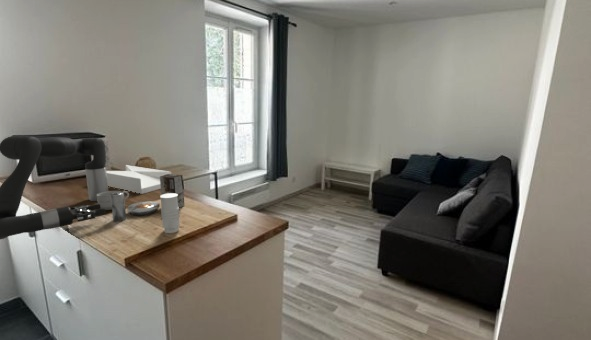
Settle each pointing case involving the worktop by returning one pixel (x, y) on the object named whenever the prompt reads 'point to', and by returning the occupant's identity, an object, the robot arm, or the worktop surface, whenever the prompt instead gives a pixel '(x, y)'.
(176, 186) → the coffee box
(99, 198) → the teacup
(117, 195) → the gray metal canister
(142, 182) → the white paper airplane
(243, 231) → the worktop surface
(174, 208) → the candle
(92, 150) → the robot arm
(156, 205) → the round metal dish
